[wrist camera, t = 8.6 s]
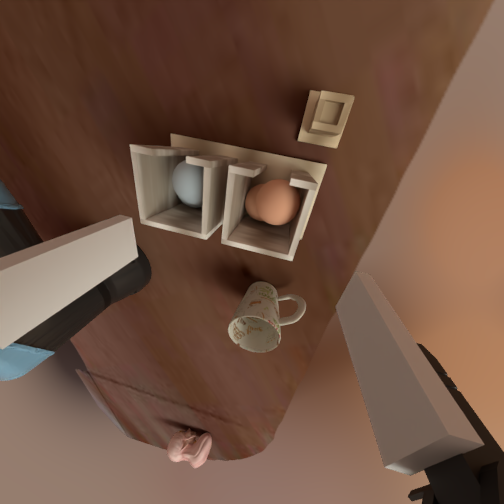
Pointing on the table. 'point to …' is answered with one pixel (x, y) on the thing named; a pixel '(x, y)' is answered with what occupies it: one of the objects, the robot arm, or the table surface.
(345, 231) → the table surface
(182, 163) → the grey ball upper
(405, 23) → the table surface
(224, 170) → the rack
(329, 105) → the stand
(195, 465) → the figurine
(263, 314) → the mug
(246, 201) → the terracotta ball in tube
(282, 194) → the terracotta ball
